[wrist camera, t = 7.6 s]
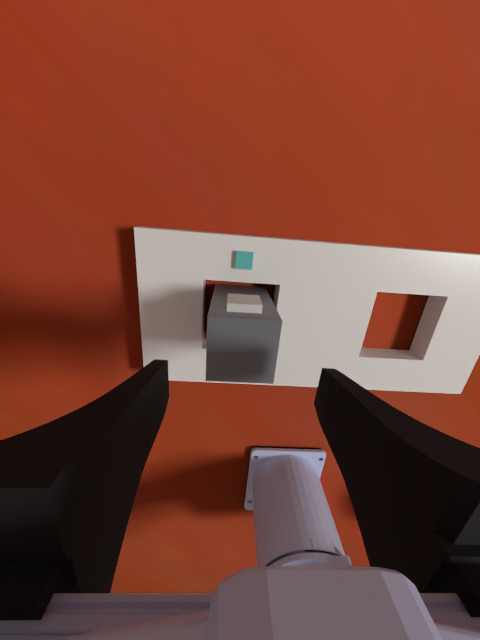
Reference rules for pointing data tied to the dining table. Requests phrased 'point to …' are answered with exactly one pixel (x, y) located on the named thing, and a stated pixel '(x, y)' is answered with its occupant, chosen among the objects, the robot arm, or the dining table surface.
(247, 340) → the plug
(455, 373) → the panel
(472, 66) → the dining table surface
